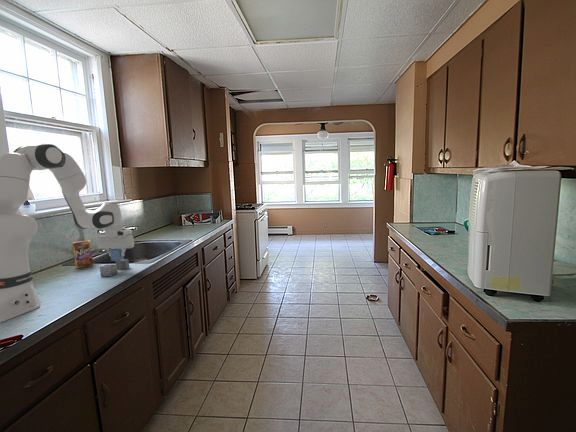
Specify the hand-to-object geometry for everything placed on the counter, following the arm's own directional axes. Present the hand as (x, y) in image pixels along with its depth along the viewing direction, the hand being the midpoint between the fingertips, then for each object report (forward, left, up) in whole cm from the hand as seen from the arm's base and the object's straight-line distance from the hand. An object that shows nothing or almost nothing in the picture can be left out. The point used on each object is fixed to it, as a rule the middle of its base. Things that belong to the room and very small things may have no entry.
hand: (117, 256), depth 176 cm
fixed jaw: (+3, 0, -8) cm, 9 cm away
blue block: (0, 0, -2) cm, 2 cm away
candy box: (+7, +27, -9) cm, 29 cm away
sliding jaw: (-8, 0, -8) cm, 11 cm away
